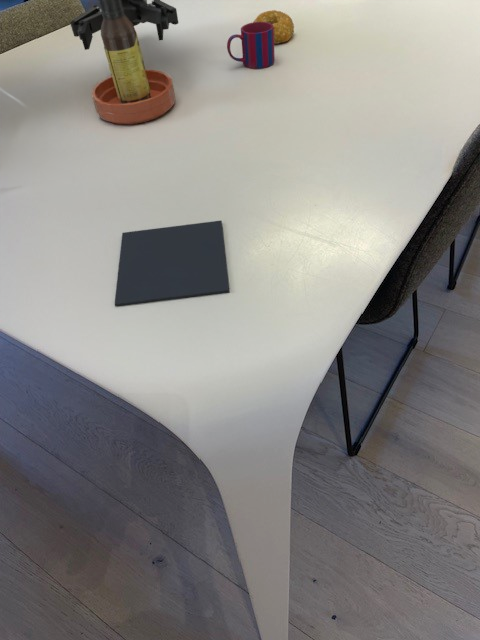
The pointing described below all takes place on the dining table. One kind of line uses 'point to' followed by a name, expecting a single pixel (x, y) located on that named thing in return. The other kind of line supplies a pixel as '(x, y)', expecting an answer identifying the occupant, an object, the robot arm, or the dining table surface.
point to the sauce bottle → (123, 53)
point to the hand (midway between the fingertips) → (122, 36)
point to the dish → (135, 111)
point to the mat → (171, 263)
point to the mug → (255, 45)
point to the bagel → (278, 24)
